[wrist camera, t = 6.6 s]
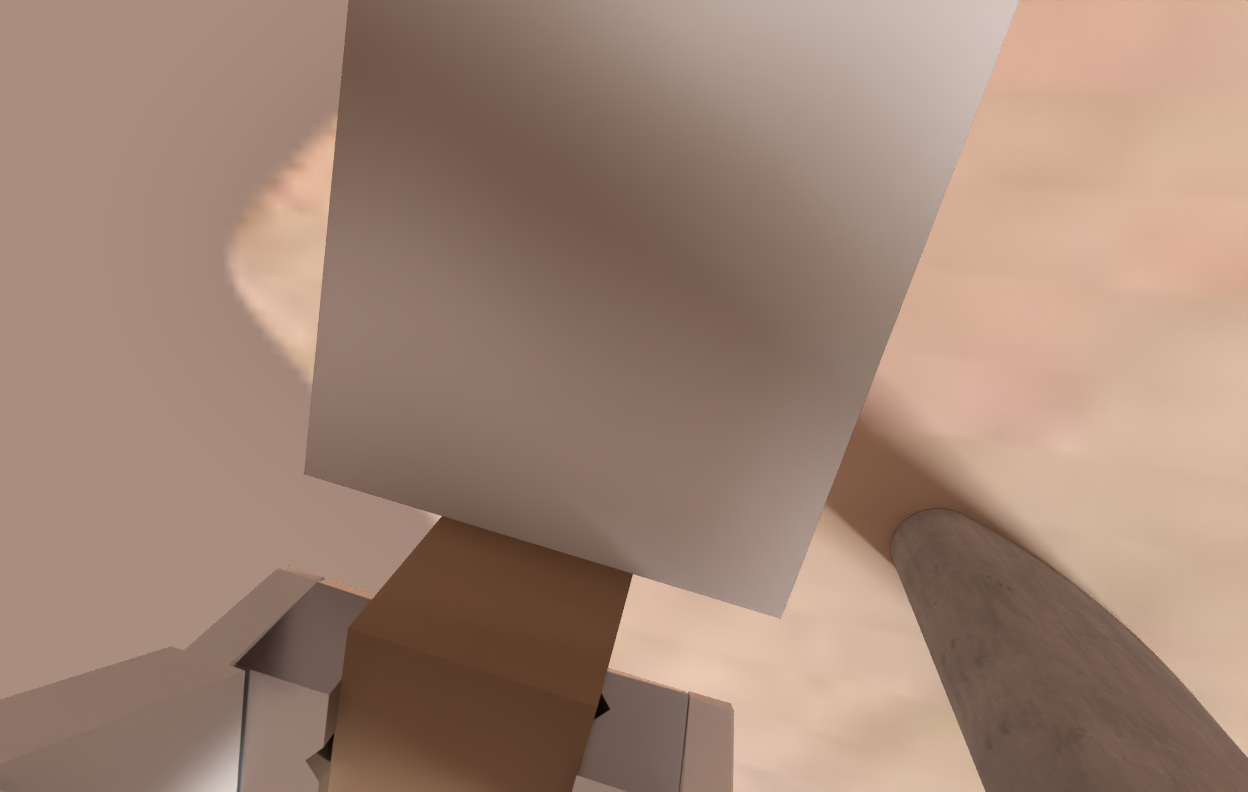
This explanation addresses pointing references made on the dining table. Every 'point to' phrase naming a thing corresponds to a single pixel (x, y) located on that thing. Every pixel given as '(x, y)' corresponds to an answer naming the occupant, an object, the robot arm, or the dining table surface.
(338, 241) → the spatula
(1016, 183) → the dining table surface
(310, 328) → the dining table surface
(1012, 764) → the hip flask
